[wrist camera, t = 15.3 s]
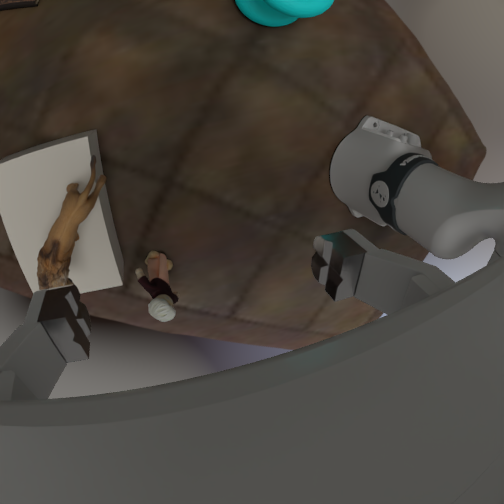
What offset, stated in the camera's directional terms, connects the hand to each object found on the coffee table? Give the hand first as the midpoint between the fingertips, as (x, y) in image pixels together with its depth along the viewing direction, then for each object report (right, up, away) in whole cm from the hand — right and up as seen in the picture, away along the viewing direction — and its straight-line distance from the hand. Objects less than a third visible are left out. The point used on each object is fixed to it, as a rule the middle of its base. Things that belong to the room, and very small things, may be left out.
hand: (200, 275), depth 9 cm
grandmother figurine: (-13, 0, +34) cm, 37 cm away
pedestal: (-24, +6, +25) cm, 35 cm away
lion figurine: (-19, +5, +21) cm, 29 cm away
